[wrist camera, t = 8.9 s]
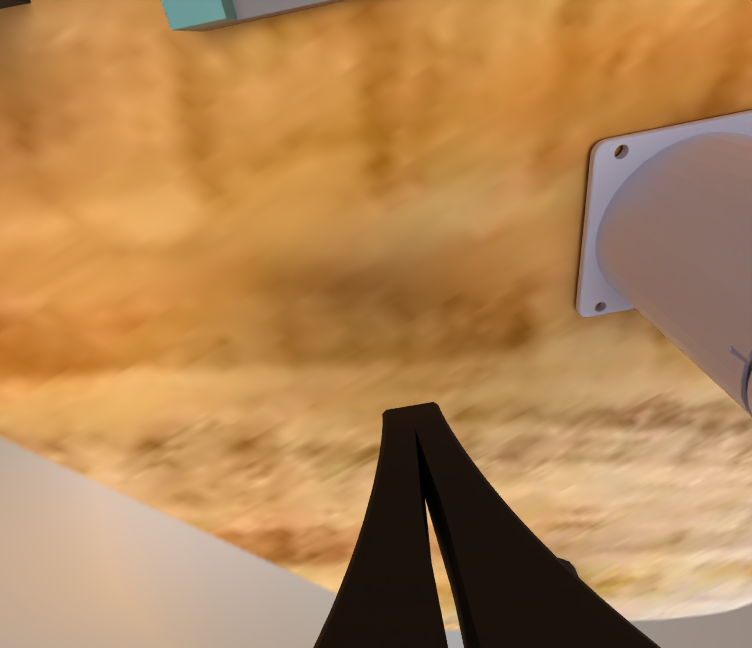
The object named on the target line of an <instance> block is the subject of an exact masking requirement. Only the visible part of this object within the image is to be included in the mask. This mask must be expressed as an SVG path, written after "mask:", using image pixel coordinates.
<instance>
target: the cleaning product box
mask: <svg viewBox="0 0 752 648" xmlns="http://www.w3.org/2000/svg"><path fill="white" fill-rule="evenodd" d="M27 3H31V1H30V0H0V9H1V8H7V7H12V6H17V5H22V4H27Z"/></svg>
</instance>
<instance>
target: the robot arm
mask: <svg viewBox="0 0 752 648" xmlns="http://www.w3.org/2000/svg"><path fill="white" fill-rule="evenodd" d="M620 145H623V150H622V152H621V153H620V154H619V155H618V156H616V157H615V154H614V153H615V150H616V149H617V148H618V146H620ZM600 302H602V303H601V305H600V306H598V307H595V306H596V305H597V304H598V303H600ZM631 309H637V310H638V311H639V312H640V313H641V314H642V315H643V316H644V317H645V318H646V319H647V320H648V321H649V322H651V323H652V324H653V325H654V326H655V327H656V328H657V329H658V330H659V331H660V332H661V333H662V334H664V335H665V336H666V337H667V338H668V339H669V340H670V341H671V342H672V343H673V344H674V345H675V346H676V347H678V348H679V349H680V350H681V351H682V352H683V353H684V354H685V355H686V356H687V357H688V358H689V359H690V360H692V361H693V362H694V363H695V364H696V365H697V366H698V367H699V368H700V369H701V370H702V371H703V372H704V373H706V374H707V375H708V376H709V377H710V378H711V379H712V380H713V381H714V382H715V383H716V384H717V385H718V386H720V387H721V388H722V389H723V390H724V391H725V392H726V393H727V394H728V395H729V396H730V397H731V398H732V399H734V400H735V401H736V402H737V403H738V404H739V405H740V406H741V407H742V408H743V409H744V410H745V411H746V412H748V413H749V414H750V415H751V416H752V110H749V111H744V112H739V113H734V114H729V115H723V116H718V117H713V118H708V119H703V120H698V121H693V122H688V123H683V124H678V125H673V126H668V127H663V128H657V129H652V130H647V131H642V132H637V133H632V134H627V135H622V136H617V137H612V138H607V139H603V140H601V141H599V142H598V143H597V144H596V145H595V146H594V147H593V149H592V152H591V156H590V166H589V176H588V186H587V197H586V207H585V217H584V228H583V238H582V248H581V259H580V269H579V279H578V289H577V300H576V310H577V312H578V313H579V314H580V315H581V316H582V317H592V316H598V315H603V314H609V313H614V312H620V311H626V310H631ZM382 415H383V427H382V439H381V447H380V454H379V459H378V464H377V469H376V474H375V479H374V484H373V488H372V492H371V496H370V499H369V503H368V507H367V510H366V514H365V518H364V521H363V525H362V528H361V531H360V534H359V537H358V540H357V543H356V546H355V549H354V552H353V555H352V558H351V560H350V563H349V566H348V569H347V571H346V574H345V576H344V579H343V581H342V584H341V586H340V589H339V591H338V594H337V596H336V599H335V601H334V604H333V606H332V608H331V611H330V613H329V615H328V618H327V620H326V622H325V624H324V626H323V628H322V630H321V633H320V635H319V637H318V639H317V642H316V643H315V646H314V648H448V645H447V640H446V634H445V629H444V624H443V619H442V614H441V609H440V604H439V599H438V594H437V588H436V583H435V578H434V573H433V568H432V562H431V552H430V543H429V533H428V523H427V513H426V504H425V499H426V503H427V506H428V510H429V513H430V517H431V520H432V524H433V527H434V530H435V534H436V537H437V541H438V544H439V548H440V551H441V555H442V558H443V561H444V565H445V568H446V572H447V575H448V579H449V582H450V586H451V590H452V594H453V598H454V602H455V606H456V611H457V615H458V620H459V625H460V630H461V635H462V639H463V645H464V648H660V647H659V646H658V645H657V644H656V643H654V642H653V641H652V640H651V639H649V638H648V637H647V636H646V635H645V634H643V633H642V632H641V631H640V630H638V629H637V628H636V627H635V626H633V625H632V624H631V623H630V622H629V621H627V620H626V619H625V618H624V617H623V616H622V615H620V614H619V613H618V612H617V611H616V610H615V609H613V608H612V607H611V606H610V605H609V604H608V603H606V602H605V601H604V600H603V599H602V598H601V597H599V596H598V595H597V594H596V593H595V592H594V591H593V590H592V589H591V588H590V587H589V586H587V585H586V584H585V583H584V582H583V581H582V580H581V579H580V578H579V577H578V576H577V575H576V574H574V573H573V572H572V571H571V570H570V569H569V568H568V567H567V566H566V565H565V564H564V563H563V562H561V561H560V560H559V559H558V558H557V557H556V556H555V555H554V554H553V553H552V552H551V551H550V550H549V549H548V548H547V547H546V546H545V545H544V544H543V543H542V542H541V541H540V540H539V539H538V538H537V537H536V536H535V535H534V534H533V532H532V531H531V530H530V529H529V528H528V527H527V526H526V525H525V524H524V523H523V522H522V521H521V520H520V519H519V517H518V516H517V515H516V514H515V513H514V512H513V511H512V510H511V508H510V507H509V506H508V505H507V504H506V503H505V502H504V500H503V499H502V498H501V497H500V496H499V494H498V493H497V492H496V491H495V489H494V488H493V487H492V486H491V485H490V483H489V482H488V481H487V480H486V478H485V477H484V476H483V474H482V473H481V472H480V470H479V469H478V468H477V466H476V465H475V464H474V462H473V461H472V460H471V458H470V457H469V456H468V454H467V453H466V451H465V450H464V448H463V447H462V446H461V444H460V443H459V441H458V439H457V438H456V436H455V435H454V433H453V432H452V430H451V428H450V427H449V425H448V423H447V422H446V420H445V418H444V416H443V414H442V412H441V410H440V408H439V406H438V404H436V403H434V402H431V403H425V404H419V405H413V406H407V407H401V408H395V409H389V410H386V411H385V412H384V413H383V414H382Z"/></svg>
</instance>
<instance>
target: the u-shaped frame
mask: <svg viewBox="0 0 752 648" xmlns="http://www.w3.org/2000/svg"><path fill="white" fill-rule="evenodd" d="M340 1H345V0H161V2H162V5H163V8H164V11H165V13H166V16H167V19H168V22H169V24H170V27H171V30H180V31H206V30H211V29H216V28H220V27H225V26H229V25H234V24H239V23H243V22H248V21H253V20H257V19H262V18H266V17H271V16H276V15H280V14H285V13H289V12H294V11H299V10H303V9H308V8H313V7H317V6H322V5H326V4H331V3H336V2H340Z"/></svg>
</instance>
